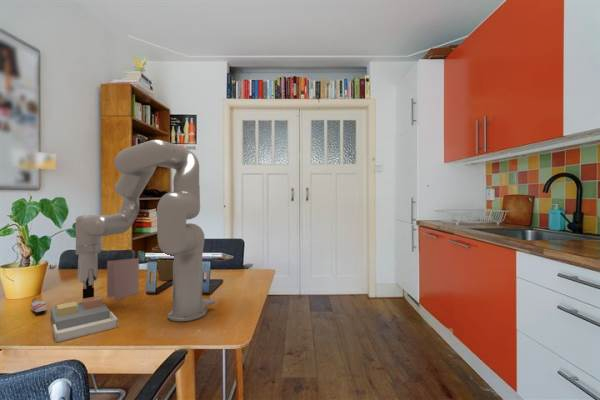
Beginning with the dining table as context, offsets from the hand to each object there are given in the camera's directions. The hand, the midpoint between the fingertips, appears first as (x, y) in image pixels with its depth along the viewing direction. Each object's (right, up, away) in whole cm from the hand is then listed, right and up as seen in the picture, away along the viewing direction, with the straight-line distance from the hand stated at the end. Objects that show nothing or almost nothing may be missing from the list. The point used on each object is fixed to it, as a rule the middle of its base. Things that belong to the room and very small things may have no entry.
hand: (88, 299), depth 108 cm
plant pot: (+10, -4, +43) cm, 44 cm away
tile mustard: (+1, -1, -12) cm, 12 cm away
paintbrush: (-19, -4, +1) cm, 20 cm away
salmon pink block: (+5, -1, -5) cm, 7 cm away
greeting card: (+5, -4, +14) cm, 15 cm away
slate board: (+3, -4, -9) cm, 10 cm away
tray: (+12, -4, -18) cm, 22 cm away
